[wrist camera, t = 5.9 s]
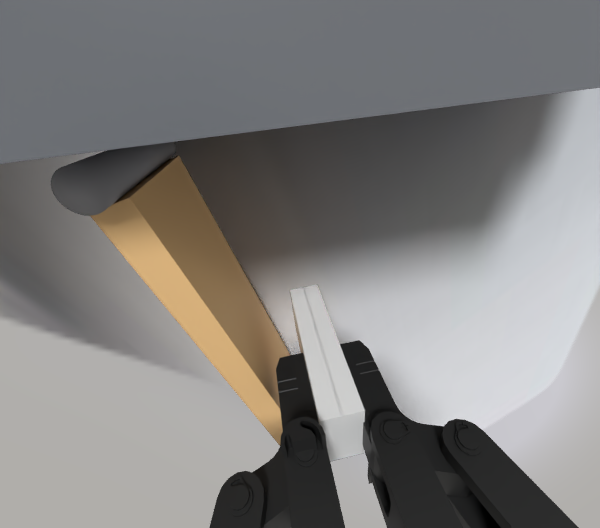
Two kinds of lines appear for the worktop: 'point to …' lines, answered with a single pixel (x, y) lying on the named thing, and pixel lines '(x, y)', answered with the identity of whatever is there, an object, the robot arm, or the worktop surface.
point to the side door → (181, 262)
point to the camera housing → (269, 64)
